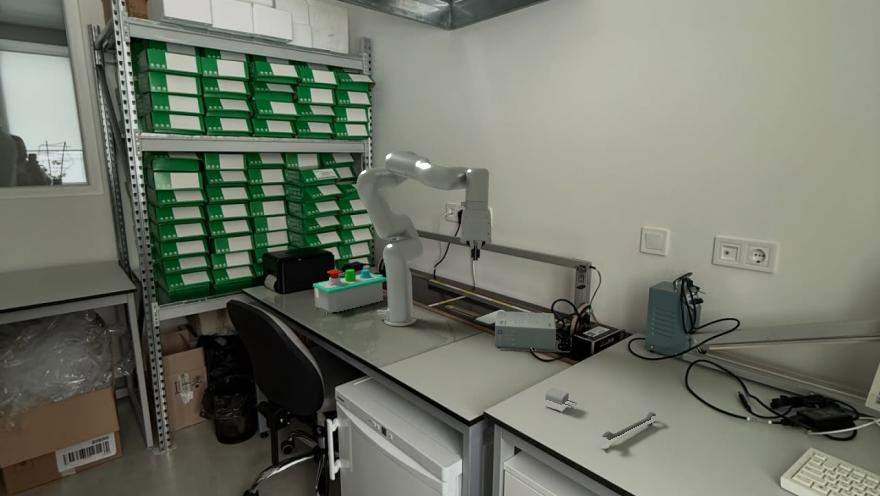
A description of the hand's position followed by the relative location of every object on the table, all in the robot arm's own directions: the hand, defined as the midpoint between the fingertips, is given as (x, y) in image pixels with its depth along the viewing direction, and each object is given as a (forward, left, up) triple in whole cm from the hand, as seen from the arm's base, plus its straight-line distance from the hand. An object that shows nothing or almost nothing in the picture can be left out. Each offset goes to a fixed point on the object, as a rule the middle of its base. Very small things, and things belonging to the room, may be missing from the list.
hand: (475, 259), depth 158 cm
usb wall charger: (+23, -45, -28) cm, 58 cm away
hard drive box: (+7, -1, -24) cm, 25 cm away
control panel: (-55, +34, -28) cm, 71 cm away
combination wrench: (+36, -55, -28) cm, 72 cm away
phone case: (+7, +19, -29) cm, 35 cm away
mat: (+20, 0, -28) cm, 34 cm away
